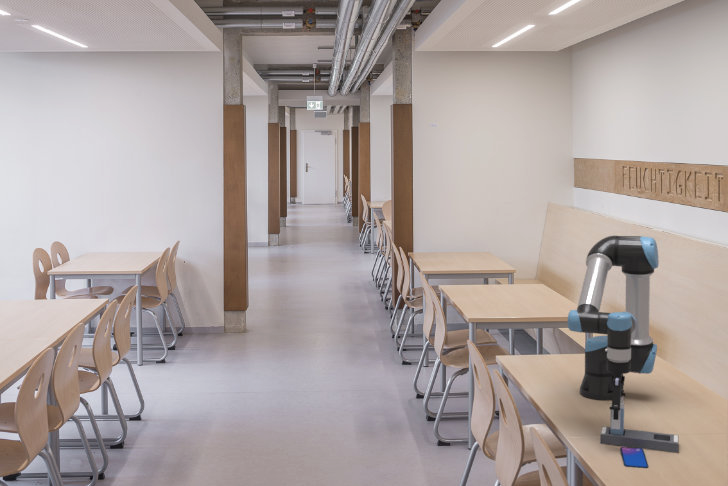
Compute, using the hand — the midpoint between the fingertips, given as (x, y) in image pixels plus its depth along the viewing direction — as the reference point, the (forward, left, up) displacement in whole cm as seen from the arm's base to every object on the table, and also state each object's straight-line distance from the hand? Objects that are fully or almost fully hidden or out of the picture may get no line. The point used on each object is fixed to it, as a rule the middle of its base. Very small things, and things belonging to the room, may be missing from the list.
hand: (617, 421), depth 252 cm
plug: (0, 0, -7) cm, 7 cm away
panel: (0, +7, -7) cm, 10 cm away
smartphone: (+13, +6, -7) cm, 16 cm away
